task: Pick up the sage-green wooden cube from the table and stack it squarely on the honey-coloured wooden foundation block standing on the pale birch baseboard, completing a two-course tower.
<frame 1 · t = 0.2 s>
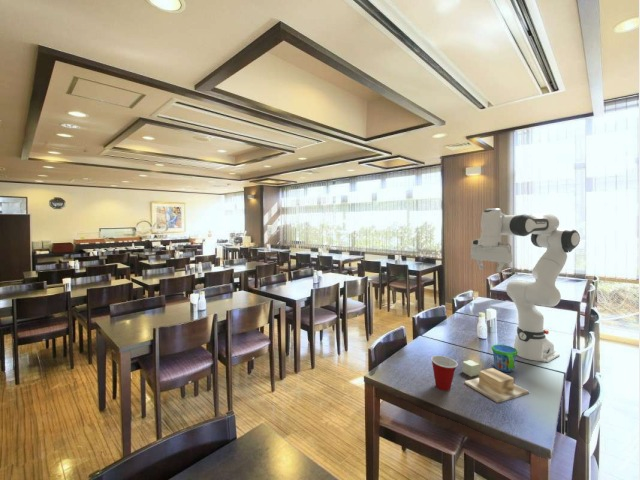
hand: (489, 270, 152), 47 cm above the table, tool pointing down, fingers open, 8 cm apart
plastic cup: (443, 387, 135), on the table
foundation base: (495, 388, 134), on the table
sage cube: (470, 373, 147), on the table
snack cup: (503, 369, 151), on the table
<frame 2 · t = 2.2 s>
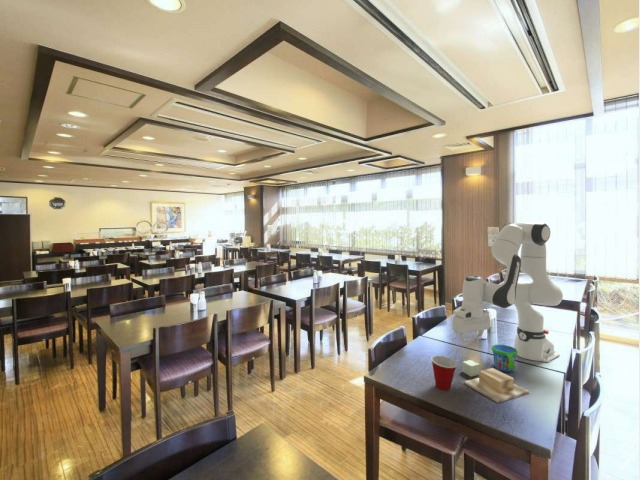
hand: (471, 340, 146), 16 cm above the table, tool pointing down, fingers open, 8 cm apart
nothing on the table moved.
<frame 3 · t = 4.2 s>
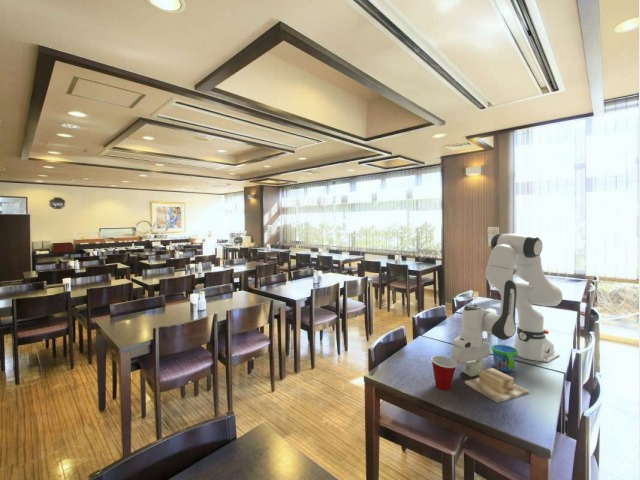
hand: (470, 368, 147), 2 cm above the table, tool pointing down, fingers closed on sage cube, 5 cm apart
sage cube: (470, 373, 147), on the table, touching gripper
everything else where it was.
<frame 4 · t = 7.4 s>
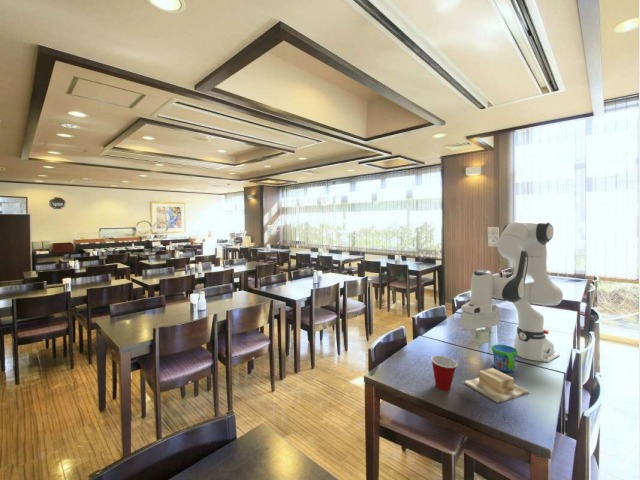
hand: (480, 336, 141), 19 cm above the table, tool pointing down, fingers closed on sage cube, 5 cm apart
sage cube: (479, 341, 141), point 17 cm above the table, touching gripper
everything else where it was.
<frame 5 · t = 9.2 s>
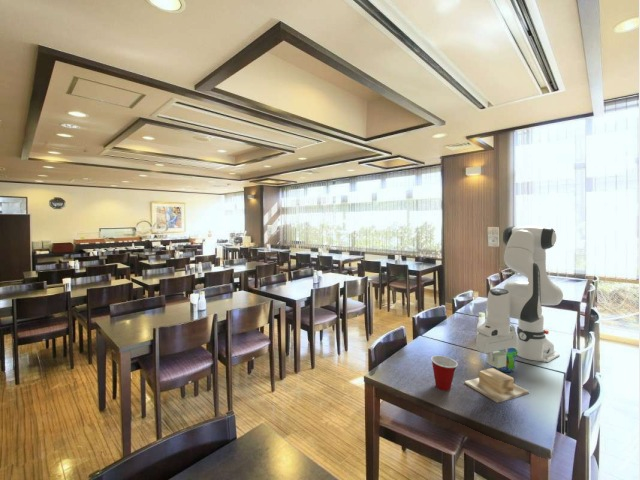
hand: (496, 359, 133), 13 cm above the table, tool pointing down, fingers closed on sage cube, 5 cm apart
sage cube: (496, 364, 133), point 10 cm above the table, touching gripper
everything else where it was.
when the fingers open (9 cm above the table, at t = 10.7 s): sage cube stays where it is, resting on foundation base.
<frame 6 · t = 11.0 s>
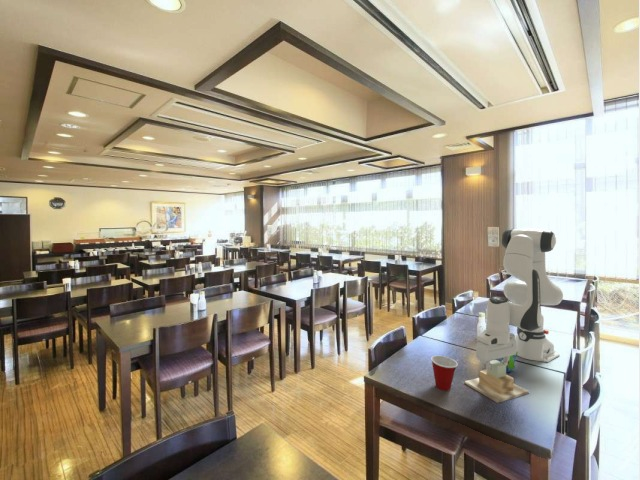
hand: (496, 367, 133), 9 cm above the table, tool pointing down, fingers open, 8 cm apart
sage cube: (496, 374, 134), point 6 cm above the table, touching foundation base
everything else where it was.
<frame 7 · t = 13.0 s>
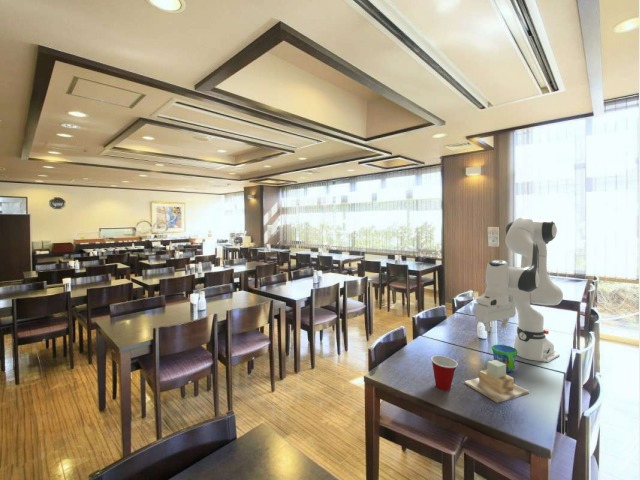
hand: (495, 329, 136), 24 cm above the table, tool pointing down, fingers open, 8 cm apart
nothing on the table moved.
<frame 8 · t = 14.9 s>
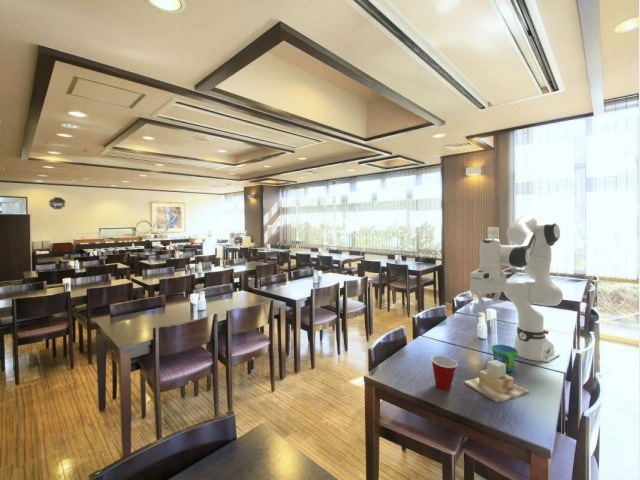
hand: (488, 302, 148), 33 cm above the table, tool pointing down, fingers open, 8 cm apart
nothing on the table moved.
at the end: sage cube 0.1 cm off-centre on the foundation base, point 6.0 cm above the foundation base's base; sage cube tilted 0°; the gripper is holding nothing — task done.
